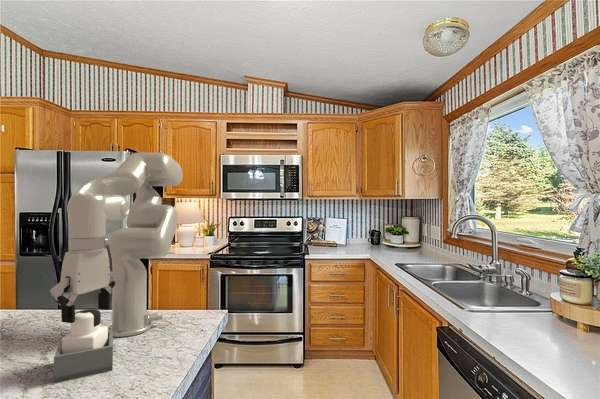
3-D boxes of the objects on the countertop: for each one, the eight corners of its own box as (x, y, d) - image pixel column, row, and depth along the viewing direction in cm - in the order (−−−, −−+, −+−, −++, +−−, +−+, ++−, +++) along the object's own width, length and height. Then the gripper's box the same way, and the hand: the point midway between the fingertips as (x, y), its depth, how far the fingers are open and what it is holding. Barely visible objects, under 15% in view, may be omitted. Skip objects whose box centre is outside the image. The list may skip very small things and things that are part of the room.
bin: (112, 351, 87) (113, 330, 87) (112, 370, 78) (112, 346, 78) (60, 361, 82) (61, 339, 82) (53, 382, 72) (53, 357, 72)
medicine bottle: (78, 355, 83) (79, 307, 83) (108, 354, 84) (108, 306, 84) (60, 369, 76) (61, 316, 76) (93, 368, 76) (93, 315, 77)
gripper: (105, 240, 90) (104, 303, 89) (39, 248, 73) (38, 326, 73) (127, 241, 88) (127, 305, 87) (65, 250, 71) (64, 330, 71)
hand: (87, 315), depth 80 cm, fingers open, 9 cm apart
